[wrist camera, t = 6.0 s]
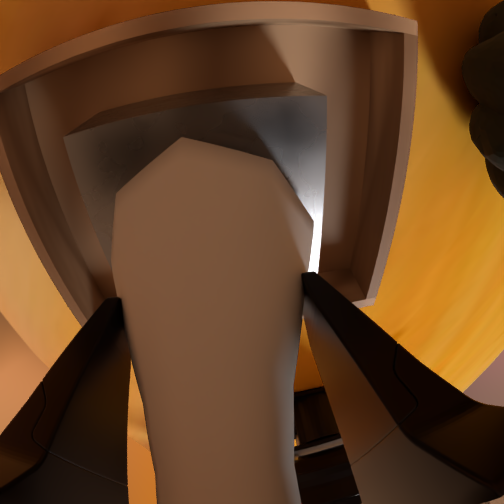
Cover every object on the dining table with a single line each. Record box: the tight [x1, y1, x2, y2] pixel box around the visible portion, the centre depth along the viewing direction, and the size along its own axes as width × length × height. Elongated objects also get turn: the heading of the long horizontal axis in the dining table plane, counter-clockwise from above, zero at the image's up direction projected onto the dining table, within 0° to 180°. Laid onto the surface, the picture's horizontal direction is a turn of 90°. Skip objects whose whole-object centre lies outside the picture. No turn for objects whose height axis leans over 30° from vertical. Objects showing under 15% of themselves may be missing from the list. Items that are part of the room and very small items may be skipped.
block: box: [63, 82, 327, 273], centre depth 13 cm, size 9×9×4 cm
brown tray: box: [0, 1, 418, 327], centre depth 13 cm, size 18×16×4 cm
